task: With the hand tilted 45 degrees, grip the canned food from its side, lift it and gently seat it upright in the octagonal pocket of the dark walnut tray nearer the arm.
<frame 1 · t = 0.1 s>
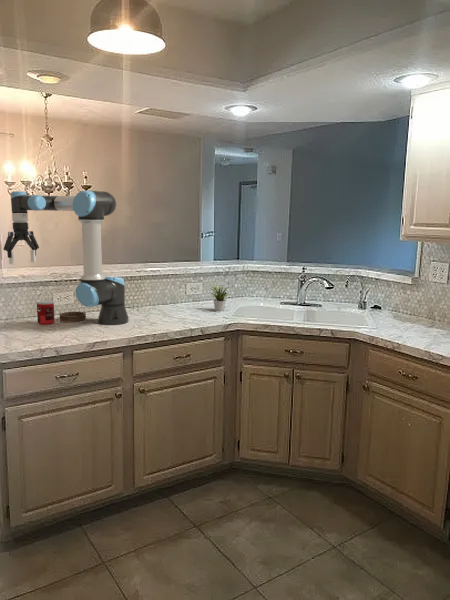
hand: (22, 263, 263), 28 cm above the worktop, tool pointing down, fingers open, 13 cm apart
house plant: (217, 311, 288), on the worktop
walnut tray: (72, 319, 259), on the worktop
canned food: (46, 323, 250), on the worktop
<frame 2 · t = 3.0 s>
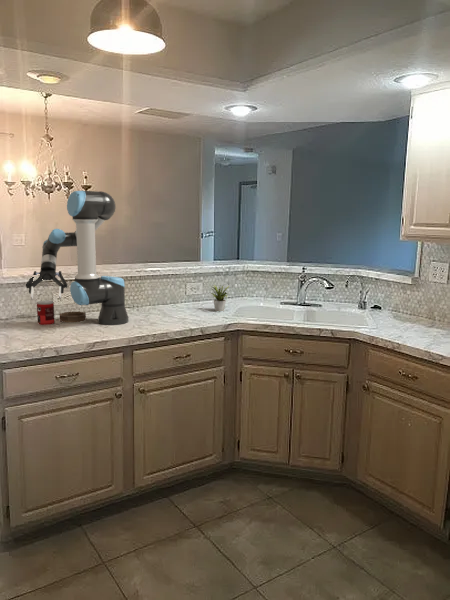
hand: (45, 298, 255), 11 cm above the worktop, tool tilted 45°, fingers open, 13 cm apart
nothing on the worktop moved.
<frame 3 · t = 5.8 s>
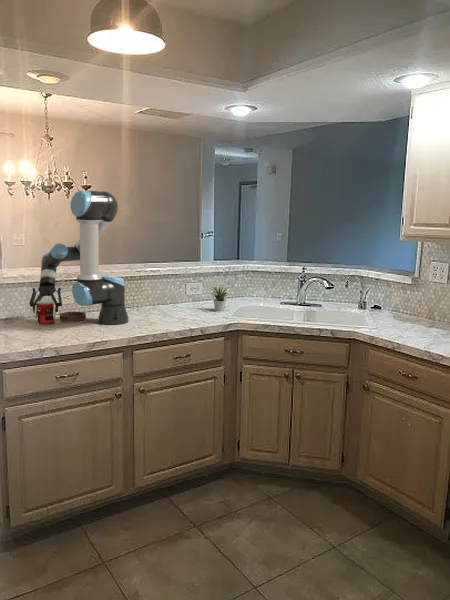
hand: (44, 317, 246), 4 cm above the worktop, tool tilted 45°, fingers closed on canned food, 8 cm apart
canned food: (46, 323, 250), on the worktop, touching gripper
everything else where it was.
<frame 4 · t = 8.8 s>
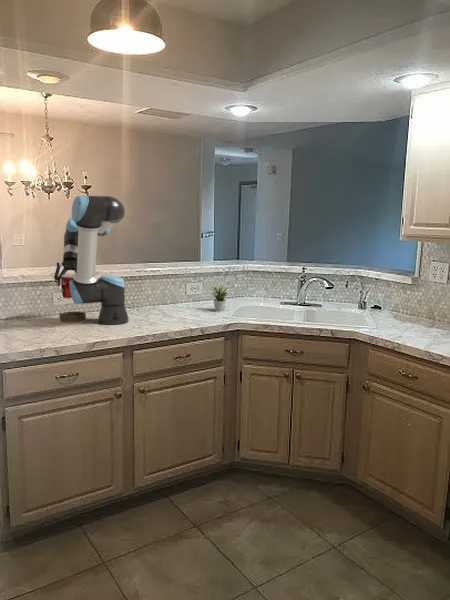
hand: (69, 290, 252), 16 cm above the worktop, tool tilted 45°, fingers closed on canned food, 8 cm apart
canned food: (70, 297, 256), point 12 cm above the worktop, touching gripper
everything else where it was.
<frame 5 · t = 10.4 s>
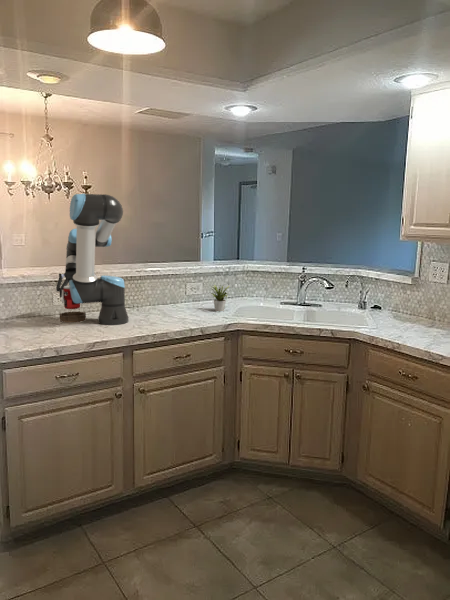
hand: (71, 301, 254), 10 cm above the worktop, tool tilted 45°, fingers closed on canned food, 8 cm apart
canned food: (72, 308, 258), point 6 cm above the worktop, touching gripper
everything else where it was.
when the fingers open (6 cm above the worktop, at t = 11.8 s): canned food drops 1 cm, resting on walnut tray.
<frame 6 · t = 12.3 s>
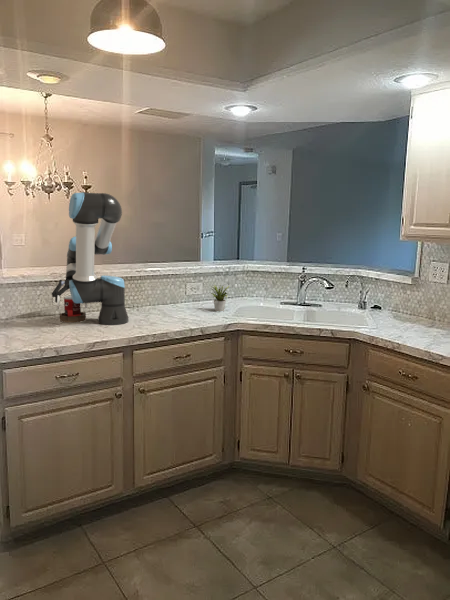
hand: (72, 307, 255), 7 cm above the worktop, tool tilted 45°, fingers open, 13 cm apart
canned food: (72, 318, 259), point 1 cm above the worktop, touching walnut tray
everything else where it was.
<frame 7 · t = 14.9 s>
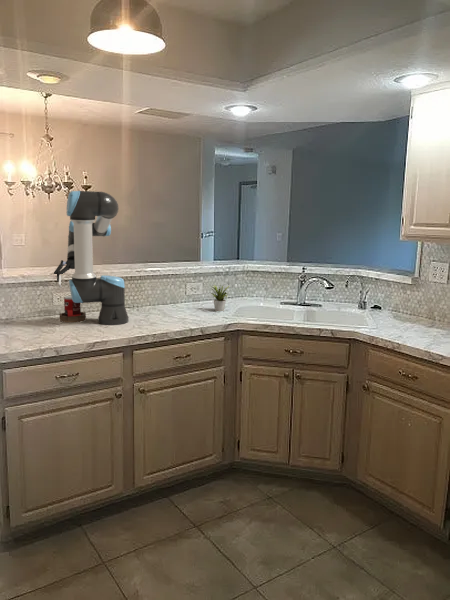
hand: (73, 285, 265), 16 cm above the worktop, tool tilted 45°, fingers open, 13 cm apart
nothing on the worktop moved.
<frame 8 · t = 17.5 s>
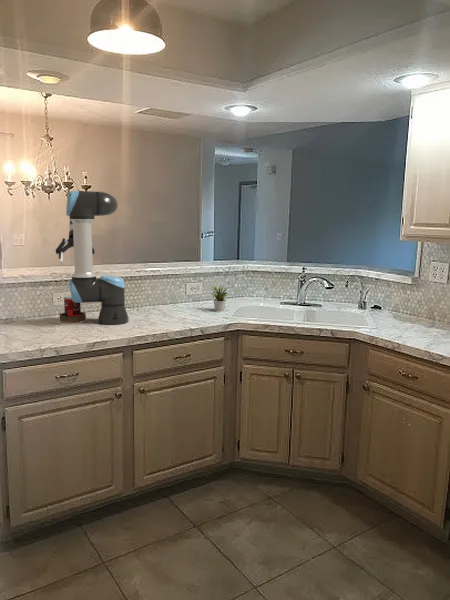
hand: (74, 263, 269), 28 cm above the worktop, tool tilted 45°, fingers open, 13 cm apart
nothing on the worktop moved.
at the end: canned food 0.1 cm off-centre on the walnut tray, point 0.8 cm above the walnut tray's base; canned food tilted 0°; the gripper is holding nothing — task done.
